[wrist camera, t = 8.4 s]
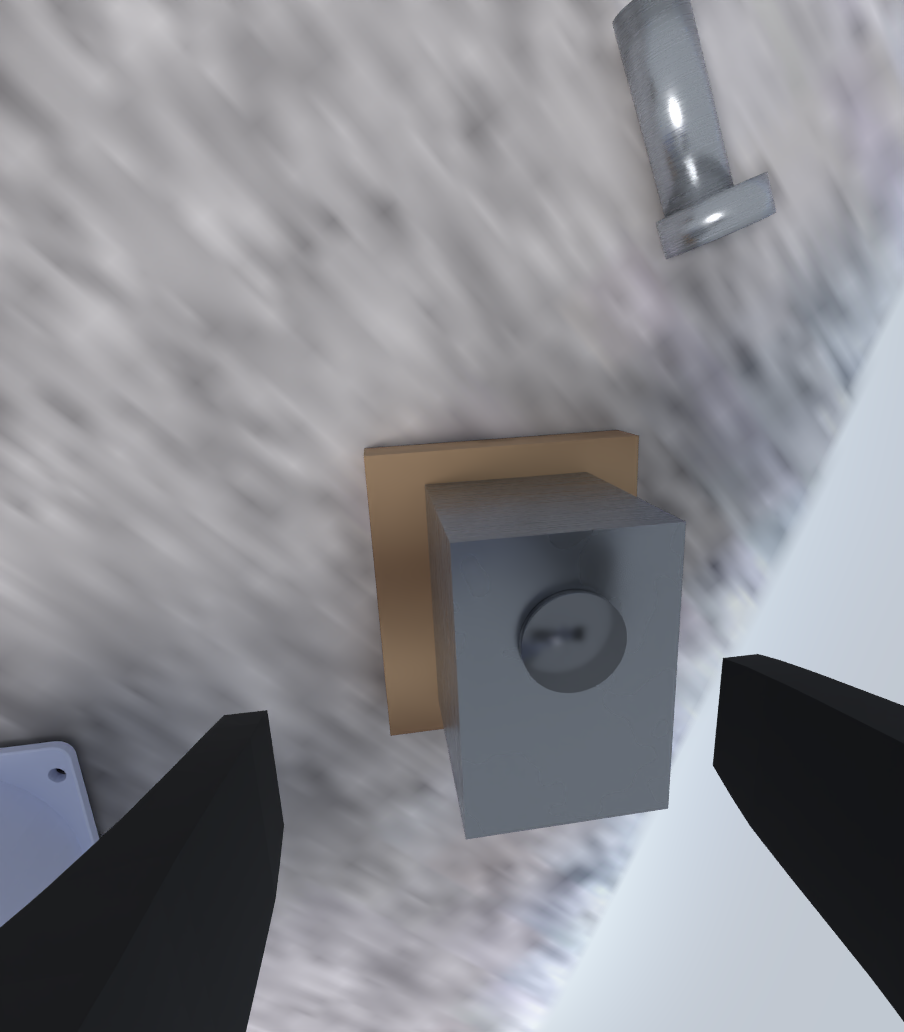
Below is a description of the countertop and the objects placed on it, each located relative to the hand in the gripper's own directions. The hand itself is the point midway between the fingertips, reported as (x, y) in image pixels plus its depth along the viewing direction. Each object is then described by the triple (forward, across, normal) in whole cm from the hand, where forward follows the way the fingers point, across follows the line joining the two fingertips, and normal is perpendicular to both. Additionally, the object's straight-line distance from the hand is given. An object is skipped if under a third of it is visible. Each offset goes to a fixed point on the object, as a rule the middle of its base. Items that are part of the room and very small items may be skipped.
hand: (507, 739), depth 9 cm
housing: (+8, -2, +1) cm, 9 cm away
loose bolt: (+10, -7, -12) cm, 17 cm away
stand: (+10, -2, +1) cm, 10 cm away
